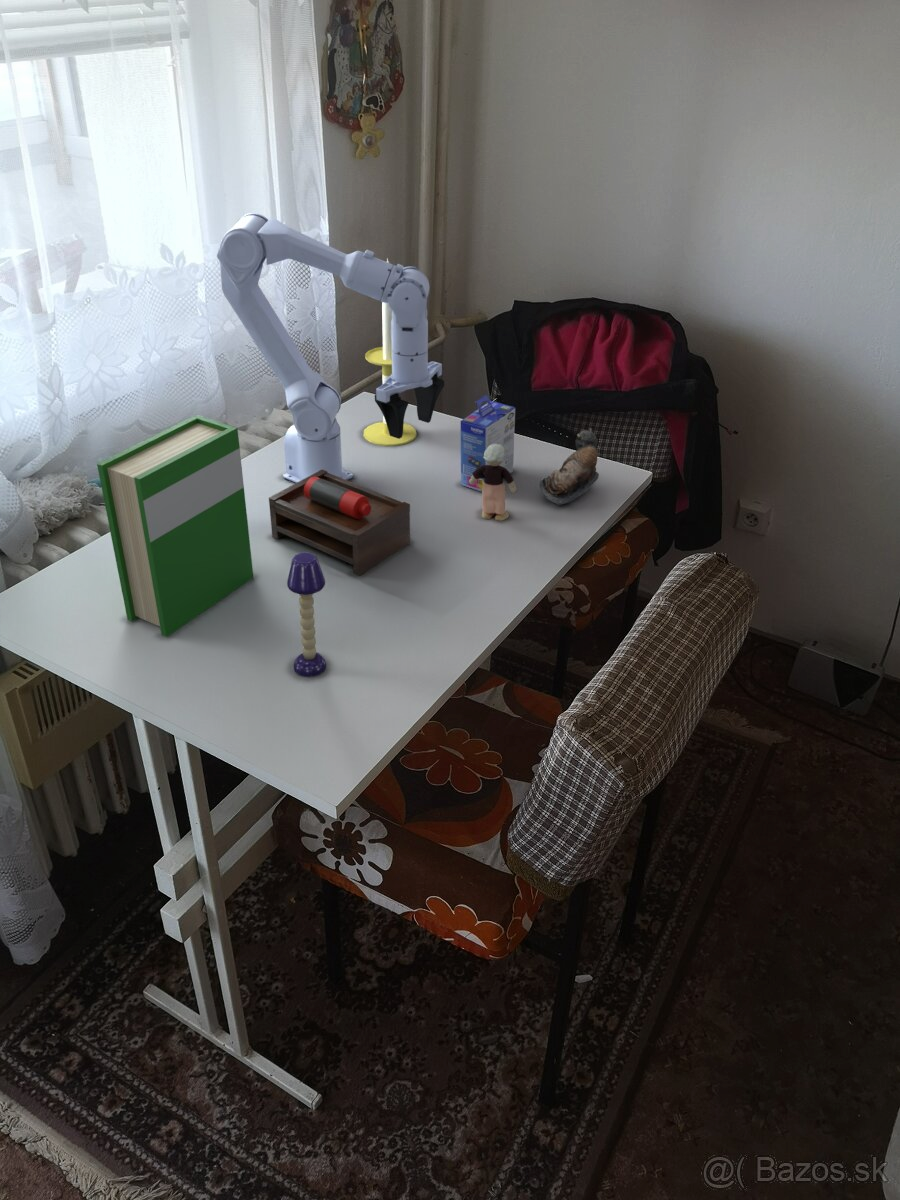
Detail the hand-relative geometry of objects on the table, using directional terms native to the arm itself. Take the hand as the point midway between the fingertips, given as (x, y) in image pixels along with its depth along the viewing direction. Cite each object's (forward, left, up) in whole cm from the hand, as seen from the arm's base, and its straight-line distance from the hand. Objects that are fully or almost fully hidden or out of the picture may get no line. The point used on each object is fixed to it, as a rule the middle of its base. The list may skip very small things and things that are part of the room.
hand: (410, 428), depth 170 cm
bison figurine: (+23, +14, -11) cm, 29 cm away
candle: (-15, +13, -11) cm, 23 cm away
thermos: (+3, -21, -4) cm, 22 cm away
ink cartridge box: (+9, +10, -11) cm, 17 cm away
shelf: (+3, -21, -10) cm, 24 cm away
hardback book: (-3, -46, -11) cm, 47 cm away
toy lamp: (+21, -47, -11) cm, 53 cm away
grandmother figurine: (+17, 0, -11) cm, 20 cm away
